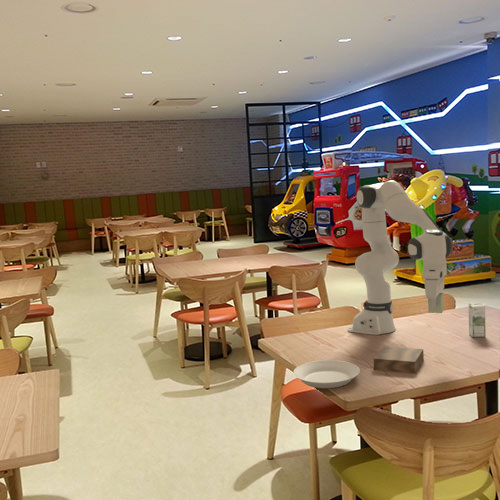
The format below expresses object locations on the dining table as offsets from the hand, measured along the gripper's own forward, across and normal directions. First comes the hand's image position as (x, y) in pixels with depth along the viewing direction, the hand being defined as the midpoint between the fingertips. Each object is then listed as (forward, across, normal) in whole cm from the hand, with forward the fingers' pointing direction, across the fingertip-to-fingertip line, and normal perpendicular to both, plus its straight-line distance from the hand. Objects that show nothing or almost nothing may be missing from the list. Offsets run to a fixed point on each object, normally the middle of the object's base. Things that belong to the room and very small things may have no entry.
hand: (435, 304), depth 230 cm
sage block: (+3, 0, 0) cm, 3 cm away
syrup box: (+23, -36, +11) cm, 44 cm away
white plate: (+23, +34, -35) cm, 54 cm away
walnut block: (+23, +11, -13) cm, 28 cm away
